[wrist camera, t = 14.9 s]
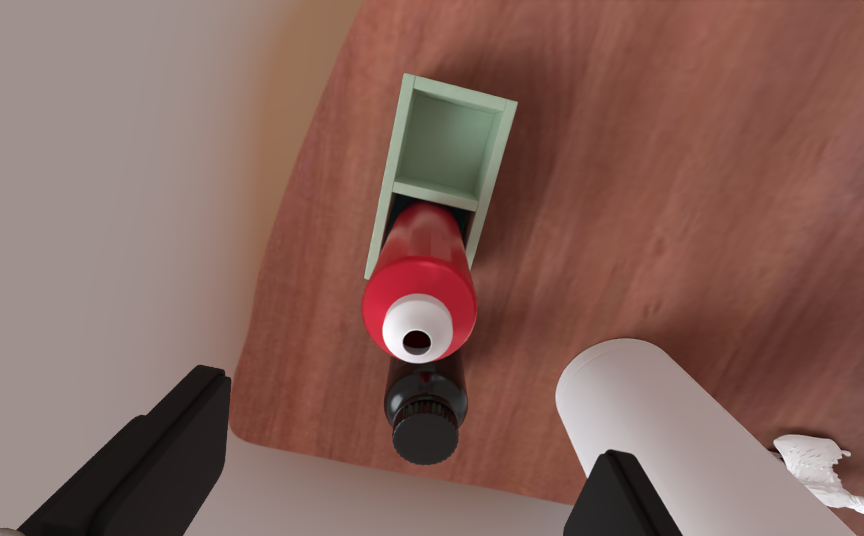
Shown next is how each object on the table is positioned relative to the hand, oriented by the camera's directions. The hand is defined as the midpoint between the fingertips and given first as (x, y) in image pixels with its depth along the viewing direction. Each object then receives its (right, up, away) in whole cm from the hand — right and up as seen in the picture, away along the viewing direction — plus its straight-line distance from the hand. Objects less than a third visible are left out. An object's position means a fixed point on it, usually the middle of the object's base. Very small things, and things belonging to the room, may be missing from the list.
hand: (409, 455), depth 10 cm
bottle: (0, +8, +25) cm, 26 cm away
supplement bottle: (0, -4, +30) cm, 30 cm away
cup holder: (+1, +12, +25) cm, 27 cm away
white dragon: (+38, -17, +34) cm, 54 cm away
